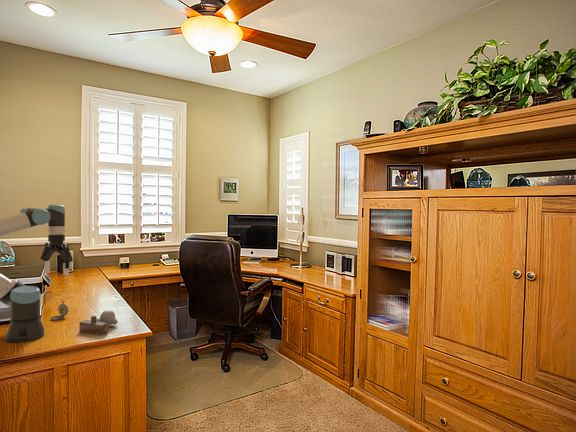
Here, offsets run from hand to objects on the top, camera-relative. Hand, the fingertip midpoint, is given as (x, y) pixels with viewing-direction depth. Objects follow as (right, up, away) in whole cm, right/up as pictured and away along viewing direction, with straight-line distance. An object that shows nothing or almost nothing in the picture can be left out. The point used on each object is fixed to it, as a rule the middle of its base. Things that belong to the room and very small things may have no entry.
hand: (56, 274), depth 199 cm
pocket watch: (-5, -27, +10) cm, 29 cm away
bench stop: (+26, -27, -12) cm, 39 cm away
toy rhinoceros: (+27, -28, -3) cm, 39 cm away
